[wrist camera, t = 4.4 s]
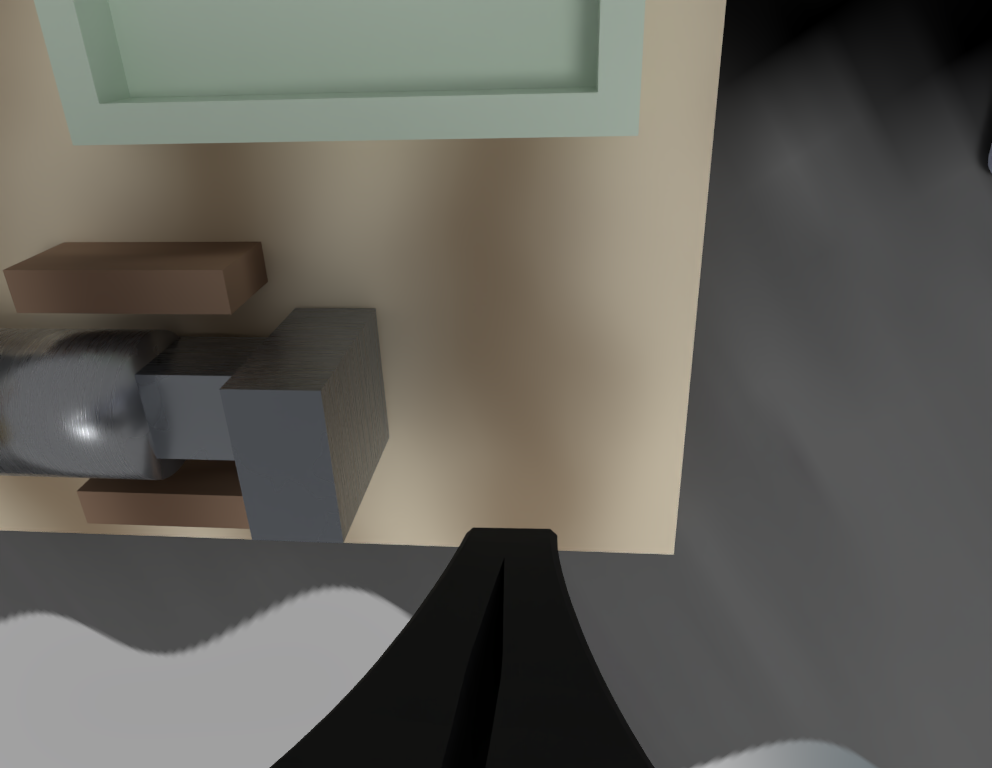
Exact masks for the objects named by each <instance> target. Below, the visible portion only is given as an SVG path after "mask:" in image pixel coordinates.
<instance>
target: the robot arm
mask: <svg viewBox="0 0 992 768" xmlns="http://www.w3.org/2000/svg"><path fill="white" fill-rule="evenodd" d="M988 167H989V169H990V172H991V174H992V145H991V149H990V153H989V157H988ZM270 768H654V766H653V765H652V764H651V762H650V760H649V759H648V757H647V756H646V754H645V752H644V751H643V749H642V747H641V746H640V744H639V742H638V741H637V739H636V737H635V736H634V734H633V732H632V731H631V729H630V727H629V726H628V724H627V722H626V720H625V718H624V717H623V715H622V713H621V711H620V710H619V708H618V706H617V704H616V702H615V700H614V699H613V697H612V695H611V693H610V691H609V689H608V687H607V685H606V683H605V681H604V679H603V677H602V675H601V673H600V671H599V668H598V666H597V664H596V662H595V660H594V658H593V655H592V653H591V651H590V649H589V647H588V644H587V642H586V639H585V637H584V635H583V632H582V630H581V627H580V624H579V622H578V619H577V616H576V614H575V611H574V608H573V606H572V603H571V600H570V597H569V594H568V591H567V588H566V584H565V580H564V577H563V573H562V569H561V565H560V560H559V554H558V540H557V534H555V533H554V532H553V531H552V530H551V529H533V528H475V527H473V528H472V529H471V530H469V531H468V532H467V533H466V535H465V537H464V538H463V540H462V542H461V544H460V546H459V547H458V549H457V551H456V553H455V554H454V556H453V558H452V559H451V561H450V563H449V564H448V566H447V567H446V569H445V570H444V572H443V574H442V575H441V577H440V578H439V580H438V581H437V583H436V584H435V586H434V587H433V589H432V590H431V591H430V593H429V594H428V596H427V597H426V599H425V600H424V601H423V603H422V604H421V606H420V607H419V608H418V610H417V611H416V613H415V614H414V615H413V617H412V618H411V620H410V621H409V622H408V624H407V625H406V626H405V627H404V629H403V630H402V631H401V633H400V634H399V635H398V636H397V637H396V639H395V640H394V641H393V642H392V644H391V645H390V646H389V647H388V648H387V650H386V651H385V652H384V653H383V655H382V656H381V657H380V658H379V660H378V661H377V662H376V663H375V664H374V666H373V667H372V668H371V669H370V670H369V671H368V672H367V674H366V675H365V676H364V677H363V678H362V679H361V680H360V681H359V682H358V683H357V685H356V686H355V687H354V688H353V689H352V690H351V691H350V692H349V693H348V694H347V695H346V696H345V697H344V698H343V700H341V701H340V703H339V704H338V705H337V706H336V707H335V708H334V709H333V710H332V711H331V712H330V713H329V714H328V715H327V716H326V717H325V718H324V719H322V720H321V722H319V723H318V724H317V725H316V726H315V727H314V728H313V729H312V730H311V731H310V732H309V733H308V734H307V735H306V736H304V737H303V738H302V739H301V740H300V741H299V742H298V743H297V744H296V745H295V746H294V747H293V748H292V749H290V750H289V751H288V752H287V753H286V754H285V755H284V756H283V757H281V758H280V759H279V760H278V761H277V762H276V763H275V764H273V765H272V766H271V767H270Z"/></svg>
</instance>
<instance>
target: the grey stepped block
mask: <svg viewBox="0 0 992 768" xmlns="http://www.w3.org/2000/svg"><path fill="white" fill-rule="evenodd" d="M135 379H136V382H137V386H138V390H139V393H140V397H141V401H142V404H143V408H144V412H145V415H146V419H147V423H148V427H149V430H150V434H151V438H152V441H153V445H154V449H155V452H156V456H157V458H159V459H199V460H235V464H236V468H237V473H238V478H239V482H240V487H241V491H242V496H243V501H244V505H245V510H246V514H247V519H248V524H249V528H250V533H251V537H252V540H270V541H298V542H326V543H344V541H345V539H346V536H347V534H348V532H349V529H350V527H351V525H352V522H353V520H354V518H355V515H356V513H357V511H358V509H359V506H360V504H361V502H362V499H363V497H364V495H365V492H366V490H367V488H368V485H369V483H370V481H371V479H372V476H373V474H374V472H375V469H376V467H377V465H378V462H379V460H380V458H381V455H382V453H383V451H384V448H385V446H386V444H387V442H388V439H389V428H388V419H387V410H386V400H385V391H384V382H383V373H382V363H381V354H380V345H379V335H378V326H377V317H376V308H295V309H294V310H293V311H292V312H291V313H290V314H289V315H288V316H287V317H286V318H285V320H284V321H283V322H282V323H281V324H280V325H279V326H278V327H277V328H276V329H275V330H274V331H273V332H272V333H271V334H270V336H269V337H179V338H178V339H177V340H176V341H175V342H173V343H172V344H171V345H170V346H168V347H167V348H166V349H165V350H164V351H162V352H161V353H160V354H159V355H158V356H156V357H155V358H154V359H153V360H152V361H150V362H149V363H148V364H147V365H146V366H144V367H143V368H142V369H141V370H140V371H138V372H137V373H136V374H135Z"/></svg>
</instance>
